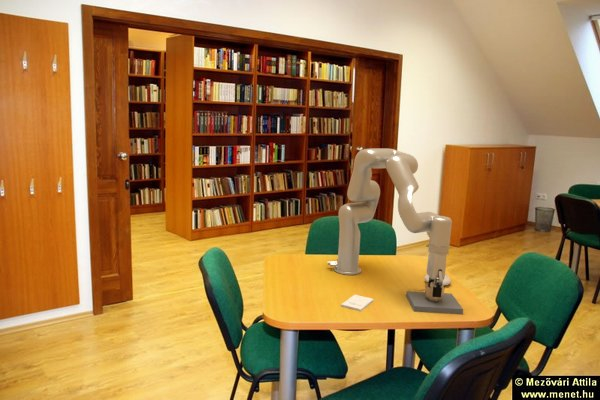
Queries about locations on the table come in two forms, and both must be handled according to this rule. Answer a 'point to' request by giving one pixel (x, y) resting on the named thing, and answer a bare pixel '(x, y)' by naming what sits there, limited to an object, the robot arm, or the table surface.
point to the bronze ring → (430, 290)
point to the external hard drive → (357, 303)
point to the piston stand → (433, 303)
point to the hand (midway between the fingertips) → (434, 293)
